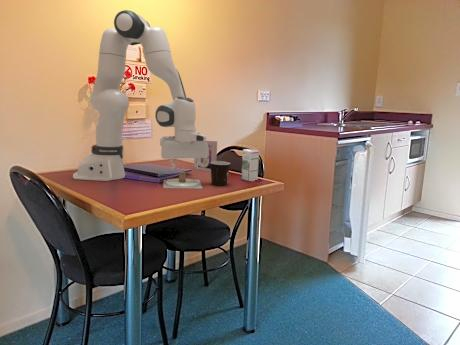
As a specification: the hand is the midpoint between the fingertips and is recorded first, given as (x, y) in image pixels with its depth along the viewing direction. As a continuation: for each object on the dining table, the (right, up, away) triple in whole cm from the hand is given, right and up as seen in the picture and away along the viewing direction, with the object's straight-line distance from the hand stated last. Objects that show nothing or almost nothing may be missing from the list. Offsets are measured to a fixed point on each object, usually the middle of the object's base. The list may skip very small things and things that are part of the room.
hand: (185, 168), depth 170 cm
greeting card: (+7, -1, +37) cm, 37 cm away
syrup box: (+28, -6, +18) cm, 34 cm away
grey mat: (-1, -7, +1) cm, 7 cm away
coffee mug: (+14, -8, +2) cm, 16 cm away
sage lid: (-1, -7, +1) cm, 7 cm away
